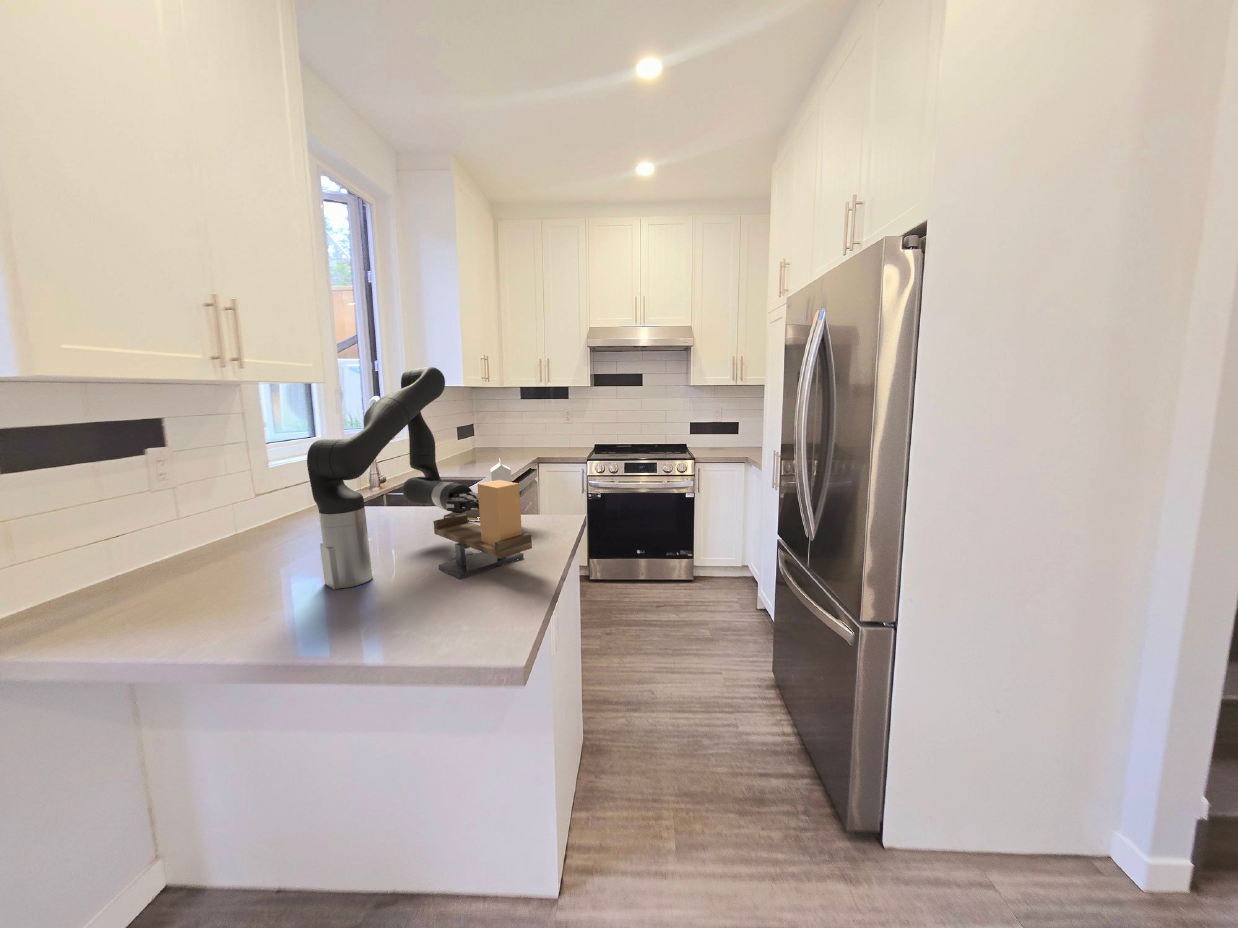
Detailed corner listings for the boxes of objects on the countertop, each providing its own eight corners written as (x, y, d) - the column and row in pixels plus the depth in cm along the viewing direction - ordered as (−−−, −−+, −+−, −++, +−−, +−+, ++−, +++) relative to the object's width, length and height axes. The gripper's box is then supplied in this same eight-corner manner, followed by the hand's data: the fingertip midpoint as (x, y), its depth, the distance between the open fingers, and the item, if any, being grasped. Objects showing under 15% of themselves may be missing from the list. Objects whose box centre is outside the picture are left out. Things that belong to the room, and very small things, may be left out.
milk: (495, 532, 153) (489, 461, 149) (494, 527, 158) (488, 458, 155) (515, 530, 154) (510, 459, 151) (513, 524, 160) (508, 457, 156)
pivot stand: (523, 558, 128) (521, 533, 127) (460, 579, 115) (457, 552, 114) (501, 550, 135) (499, 527, 134) (439, 569, 122) (436, 543, 121)
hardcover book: (518, 507, 186) (517, 501, 186) (485, 524, 164) (484, 517, 164) (480, 505, 191) (480, 499, 190) (443, 521, 169) (443, 515, 169)
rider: (500, 547, 113) (497, 487, 111) (481, 541, 119) (477, 483, 117) (522, 541, 118) (518, 483, 116) (502, 535, 123) (499, 479, 121)
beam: (532, 551, 117) (531, 533, 117) (499, 562, 111) (498, 543, 110) (465, 529, 138) (464, 513, 137) (434, 537, 131) (433, 520, 130)
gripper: (427, 487, 126) (462, 495, 114) (473, 479, 135) (510, 486, 124) (429, 516, 127) (465, 527, 115) (475, 505, 136) (512, 515, 125)
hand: (489, 505), depth 119 cm, fingers closed
